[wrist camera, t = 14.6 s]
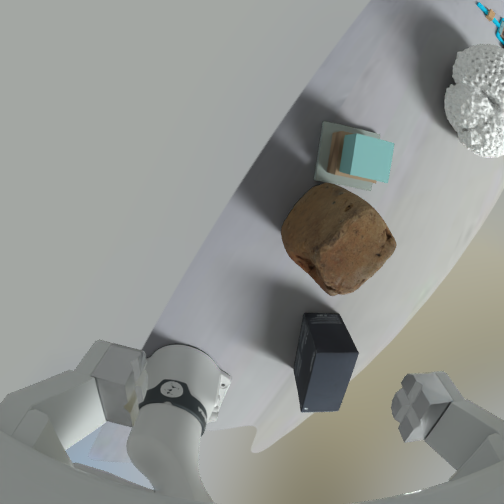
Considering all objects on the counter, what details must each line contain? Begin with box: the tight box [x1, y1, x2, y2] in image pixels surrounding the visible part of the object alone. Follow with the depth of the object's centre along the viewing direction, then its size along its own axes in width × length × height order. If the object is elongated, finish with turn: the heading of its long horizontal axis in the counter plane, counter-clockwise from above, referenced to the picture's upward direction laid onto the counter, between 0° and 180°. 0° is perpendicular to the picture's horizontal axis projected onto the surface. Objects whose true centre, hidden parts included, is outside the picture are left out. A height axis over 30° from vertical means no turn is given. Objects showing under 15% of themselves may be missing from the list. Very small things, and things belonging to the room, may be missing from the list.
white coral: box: [444, 44, 504, 158], centre depth 33 cm, size 20×18×16 cm
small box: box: [294, 313, 359, 412], centre depth 48 cm, size 13×7×12 cm, turn 176°
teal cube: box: [339, 133, 394, 183], centre depth 35 cm, size 5×5×5 cm
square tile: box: [314, 121, 380, 191], centre depth 43 cm, size 9×9×1 cm
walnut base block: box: [327, 131, 376, 183], centre depth 40 cm, size 6×6×5 cm
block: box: [281, 183, 396, 296], centre depth 37 cm, size 11×8×20 cm
